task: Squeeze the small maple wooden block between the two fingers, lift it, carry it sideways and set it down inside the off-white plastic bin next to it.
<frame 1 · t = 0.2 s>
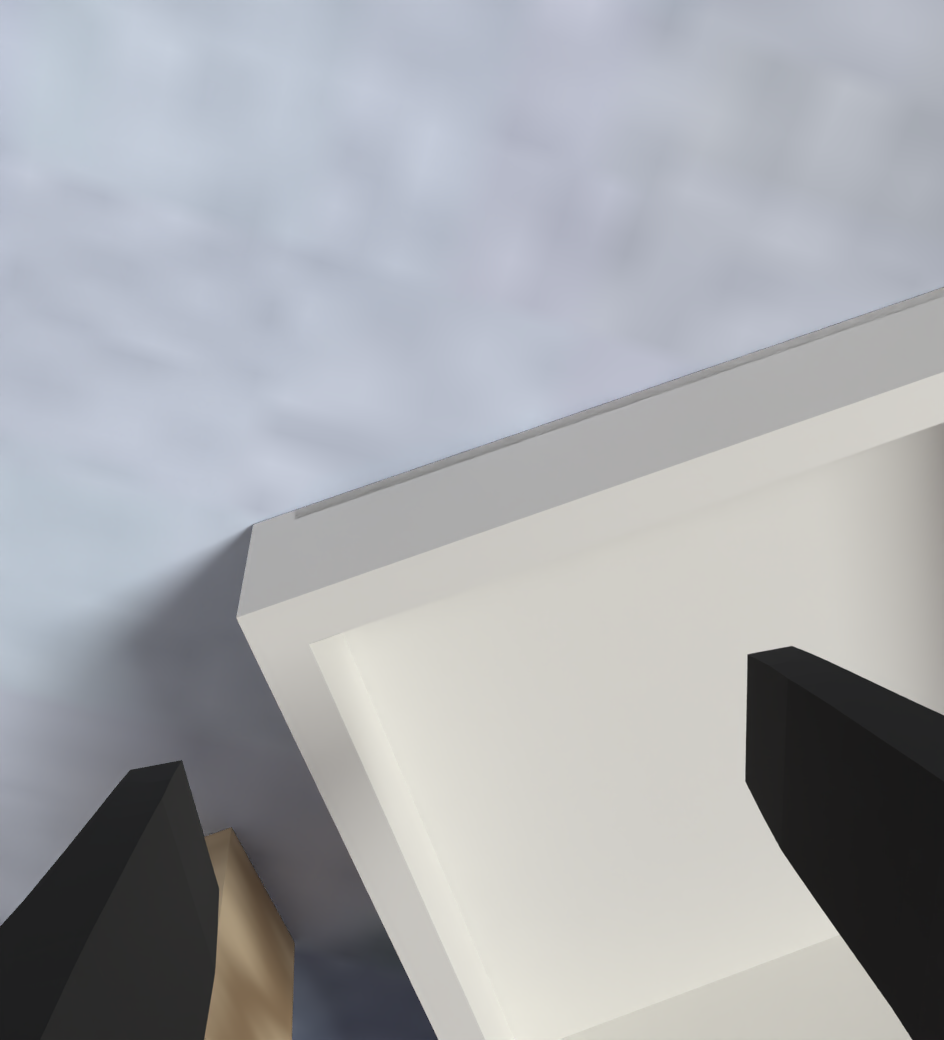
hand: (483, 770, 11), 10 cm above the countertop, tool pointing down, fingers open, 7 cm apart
maple block: (185, 914, 23), on the countertop
bin: (735, 718, 24), on the countertop
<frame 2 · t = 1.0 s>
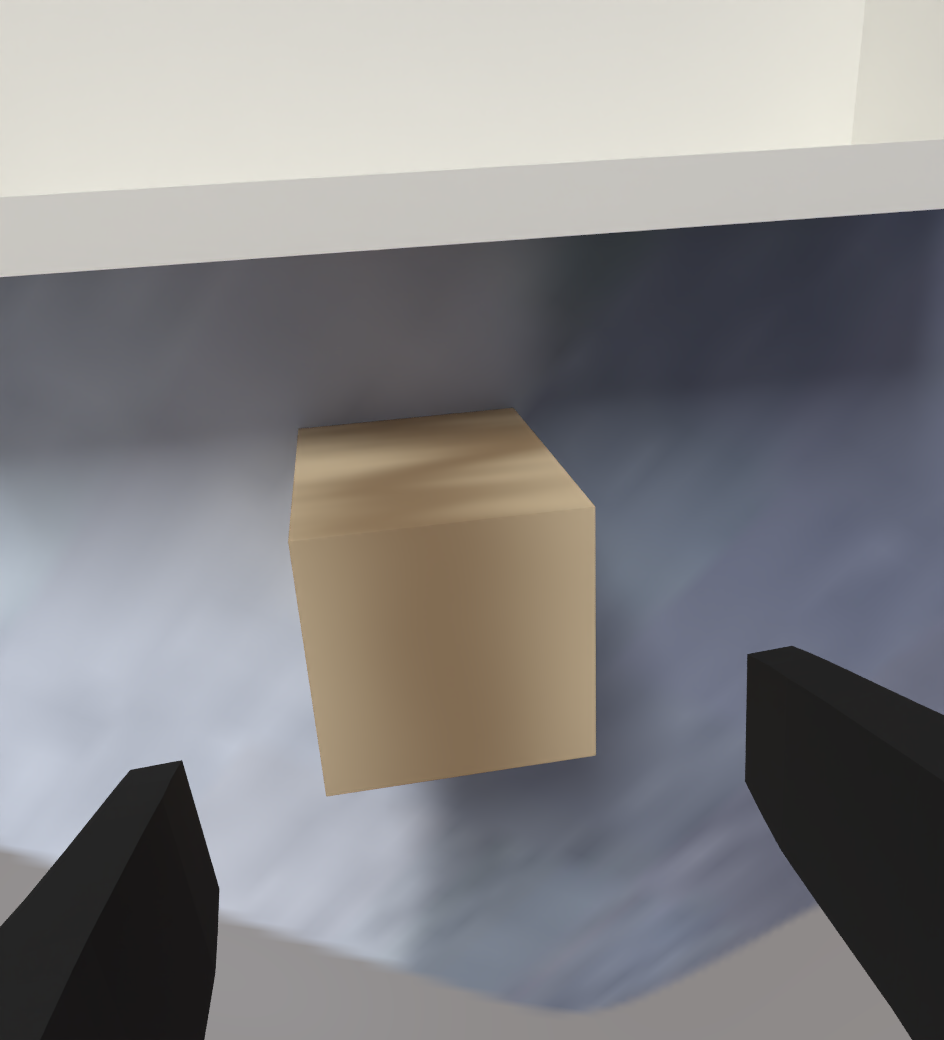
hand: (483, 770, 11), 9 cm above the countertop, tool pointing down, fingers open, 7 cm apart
maple block: (416, 517, 19), on the countertop
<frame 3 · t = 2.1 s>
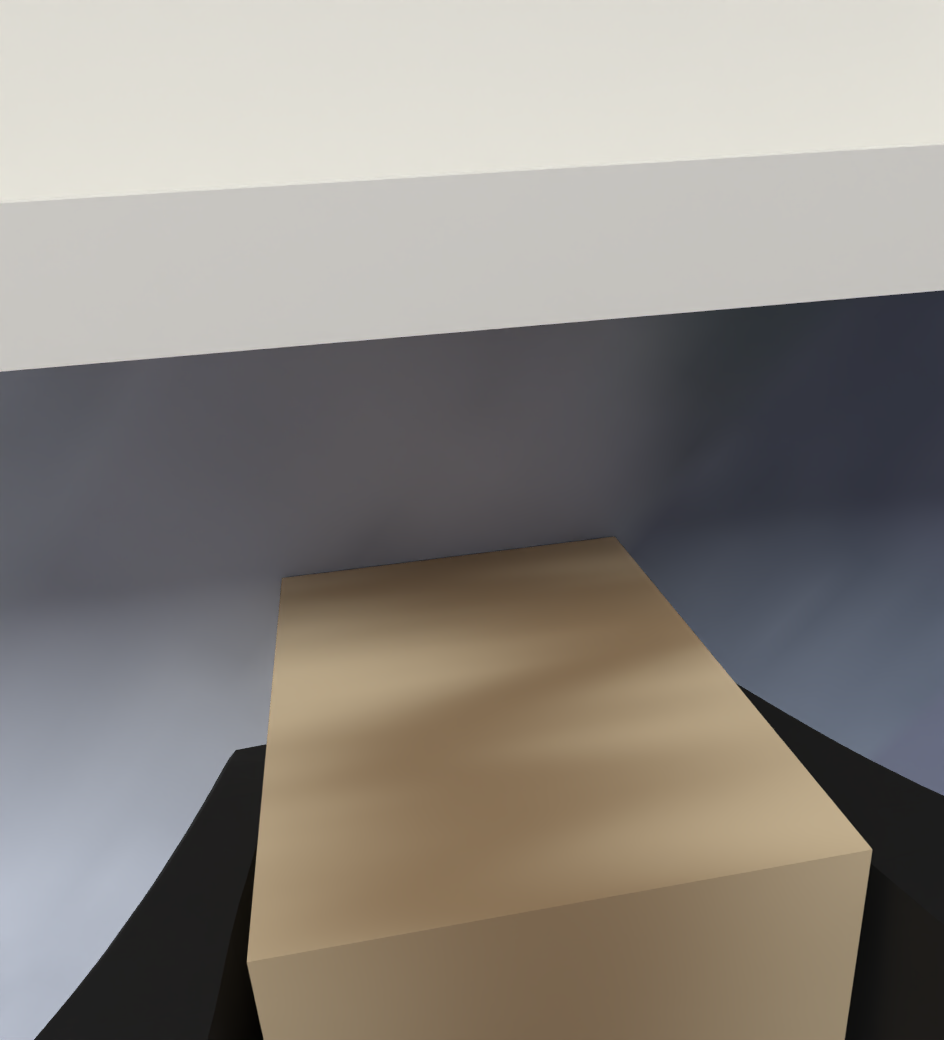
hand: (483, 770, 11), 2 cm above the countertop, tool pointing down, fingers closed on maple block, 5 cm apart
maple block: (463, 699, 12), on the countertop, touching gripper
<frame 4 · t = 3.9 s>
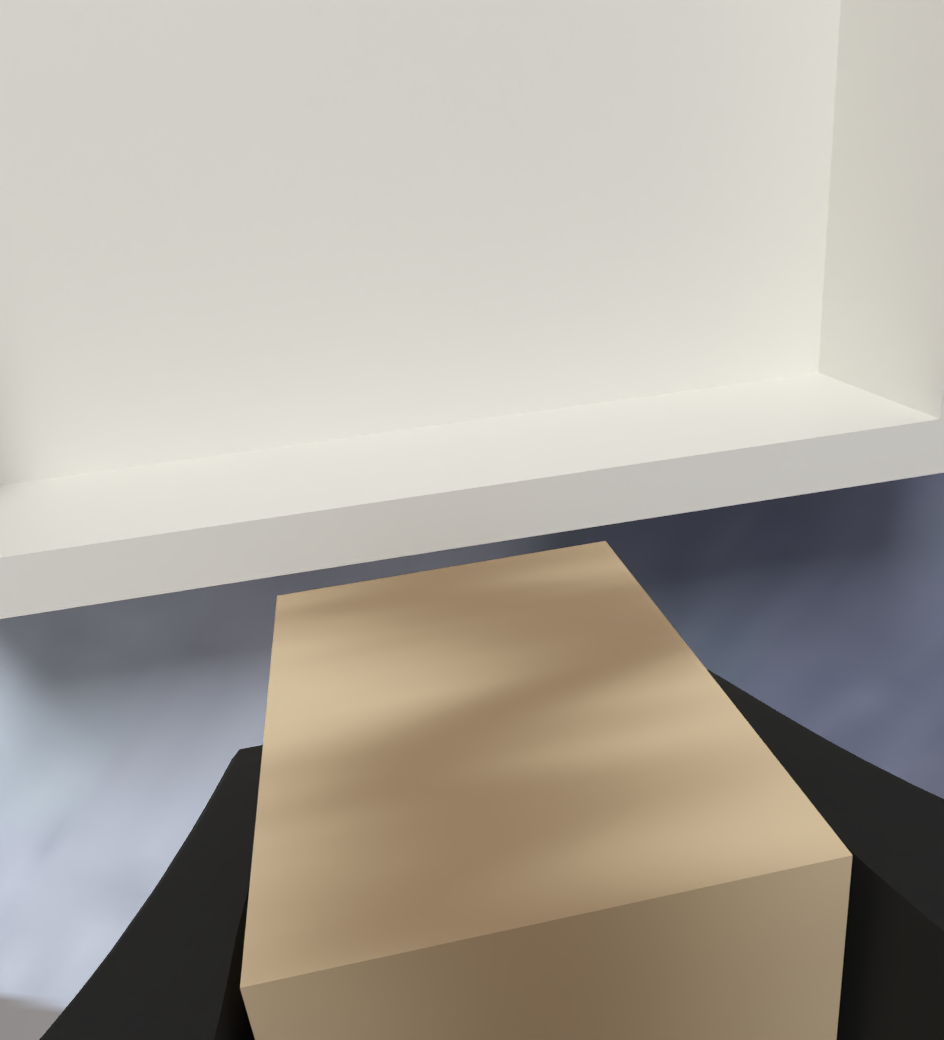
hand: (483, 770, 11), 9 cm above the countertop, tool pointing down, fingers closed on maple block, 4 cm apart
maple block: (462, 706, 13), point 7 cm above the countertop, touching gripper
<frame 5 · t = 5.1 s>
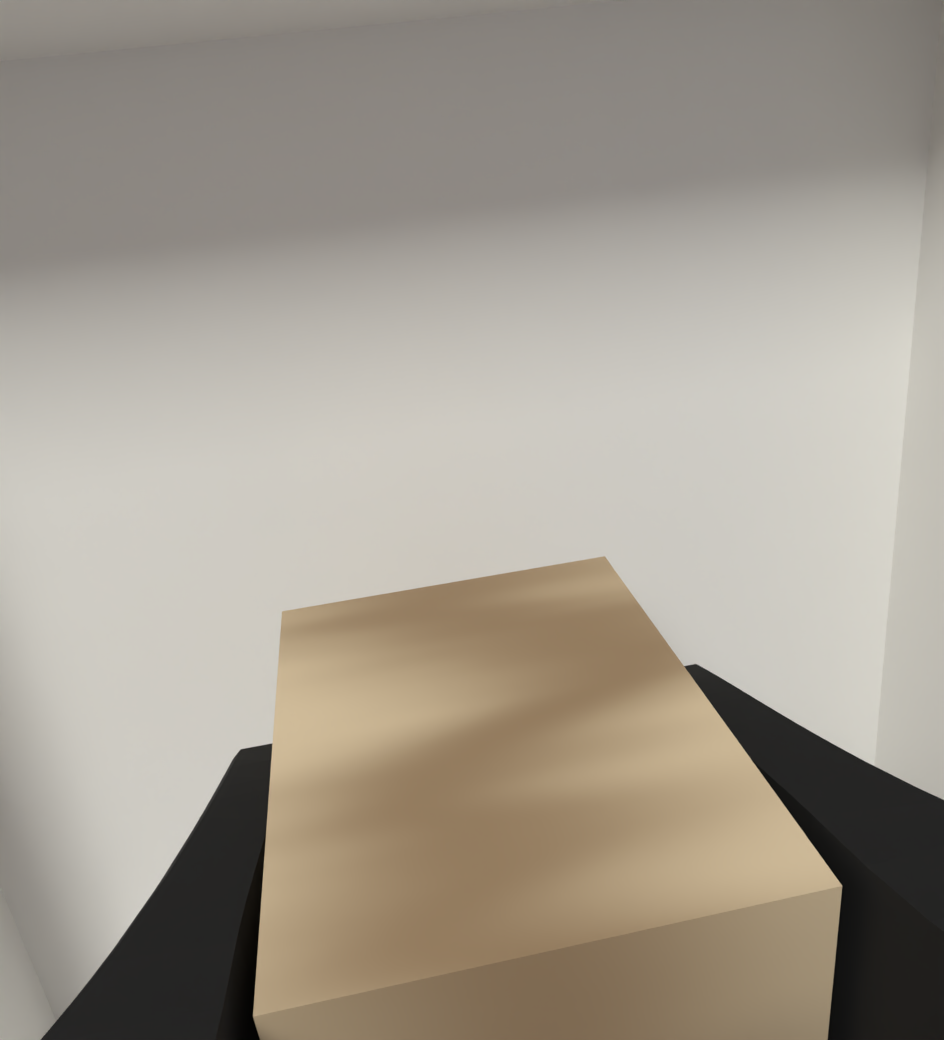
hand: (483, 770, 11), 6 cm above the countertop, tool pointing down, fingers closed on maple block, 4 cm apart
maple block: (464, 717, 13), point 4 cm above the countertop, touching gripper
bin: (432, 576, 16), on the countertop
when the fingers open (4 cm above the countertop, at t = 5.8 s): maple block drops 2 cm, resting on bin.
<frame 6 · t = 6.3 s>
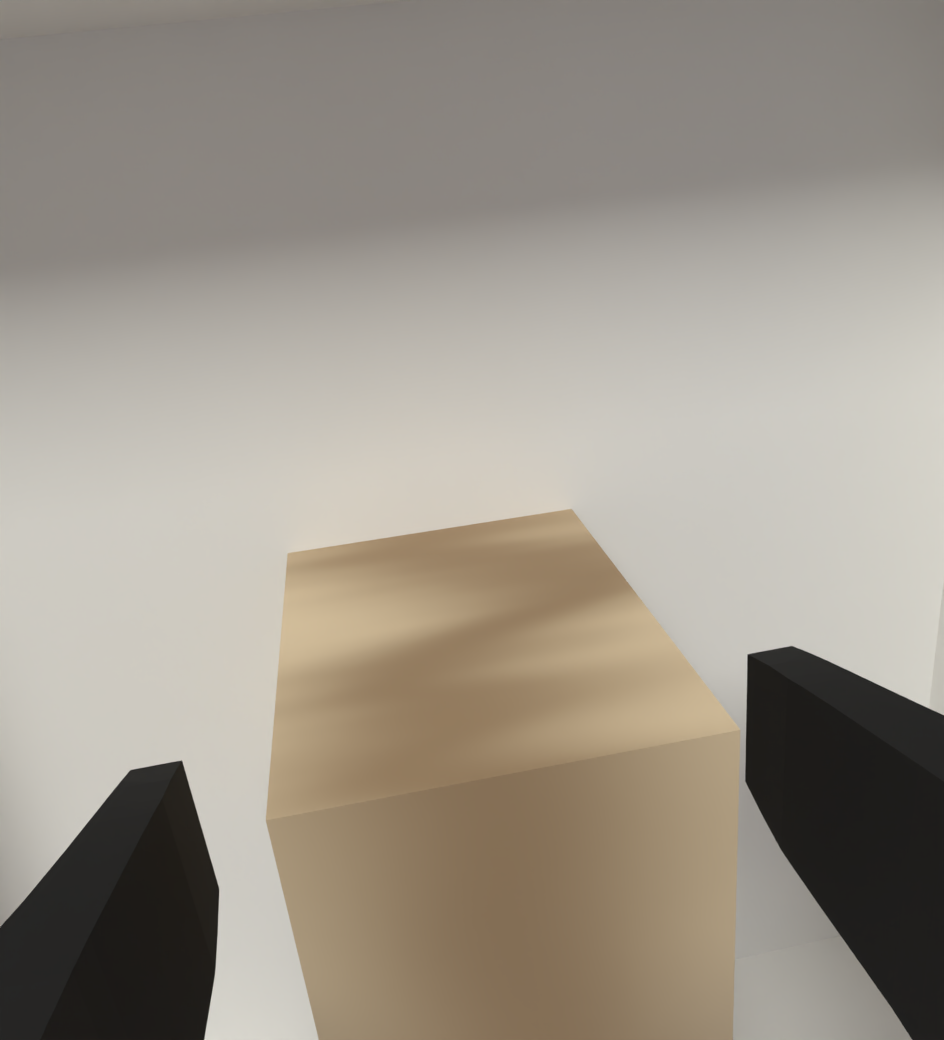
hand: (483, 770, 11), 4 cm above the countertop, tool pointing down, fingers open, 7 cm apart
maple block: (448, 654, 14), point 1 cm above the countertop, touching bin
bin: (440, 615, 15), on the countertop
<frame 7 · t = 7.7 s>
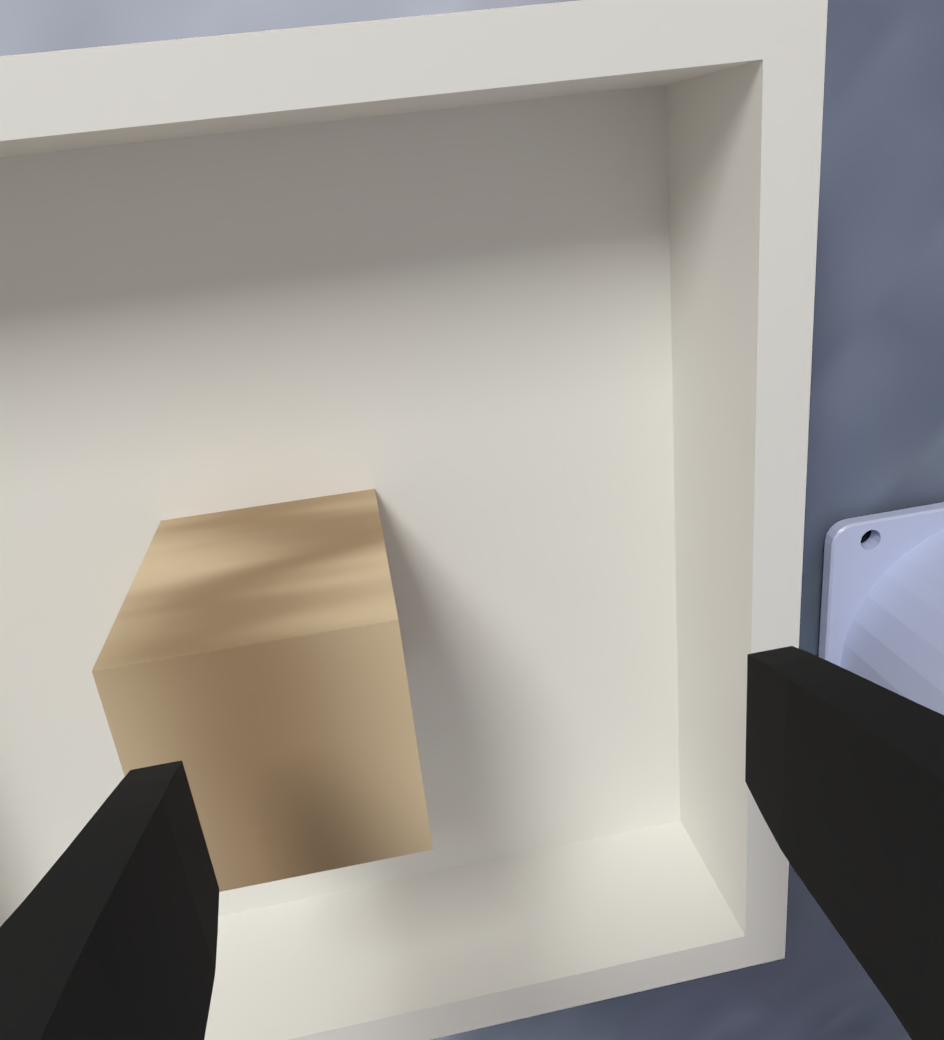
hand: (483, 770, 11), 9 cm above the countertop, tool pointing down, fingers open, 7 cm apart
maple block: (288, 598, 19), point 1 cm above the countertop, touching bin
bin: (285, 570, 20), on the countertop
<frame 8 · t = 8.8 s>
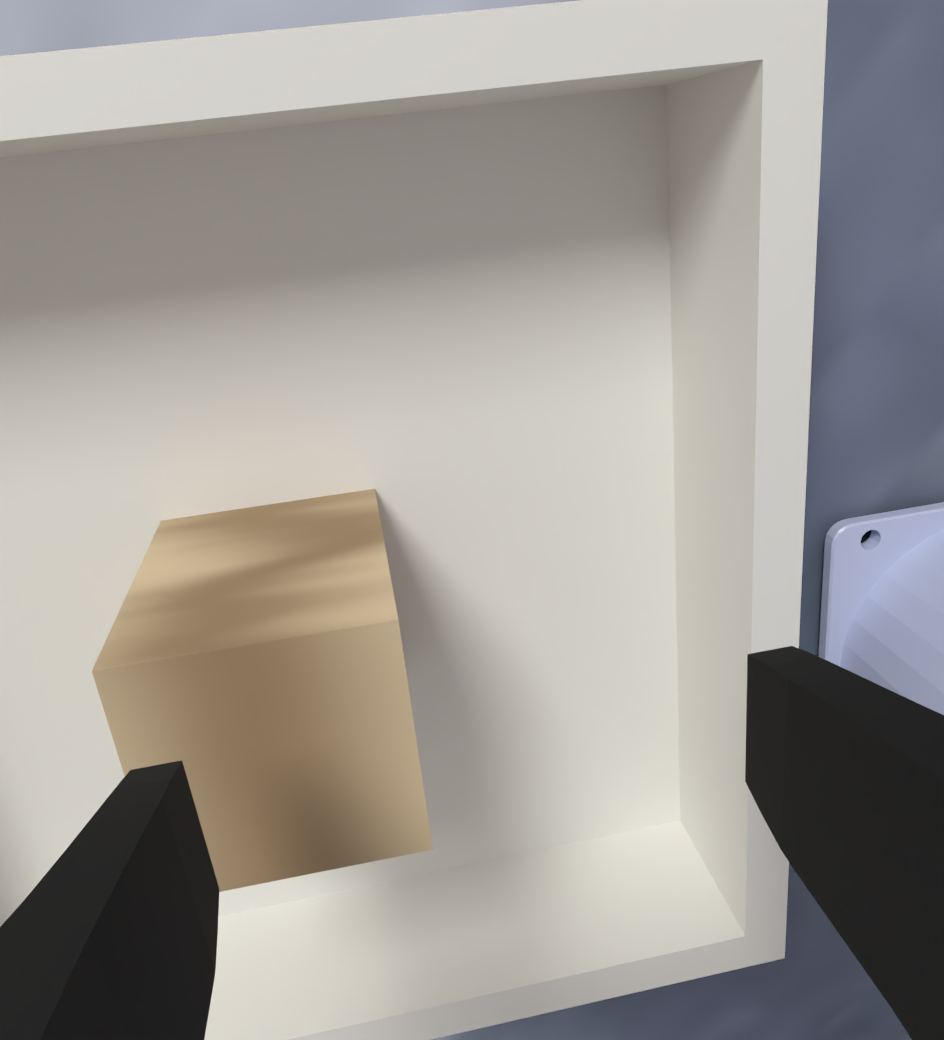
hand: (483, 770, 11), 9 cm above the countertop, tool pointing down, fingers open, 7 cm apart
maple block: (288, 598, 19), point 1 cm above the countertop, touching bin
bin: (285, 570, 20), on the countertop
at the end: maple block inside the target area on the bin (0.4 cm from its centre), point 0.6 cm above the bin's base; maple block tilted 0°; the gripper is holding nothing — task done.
